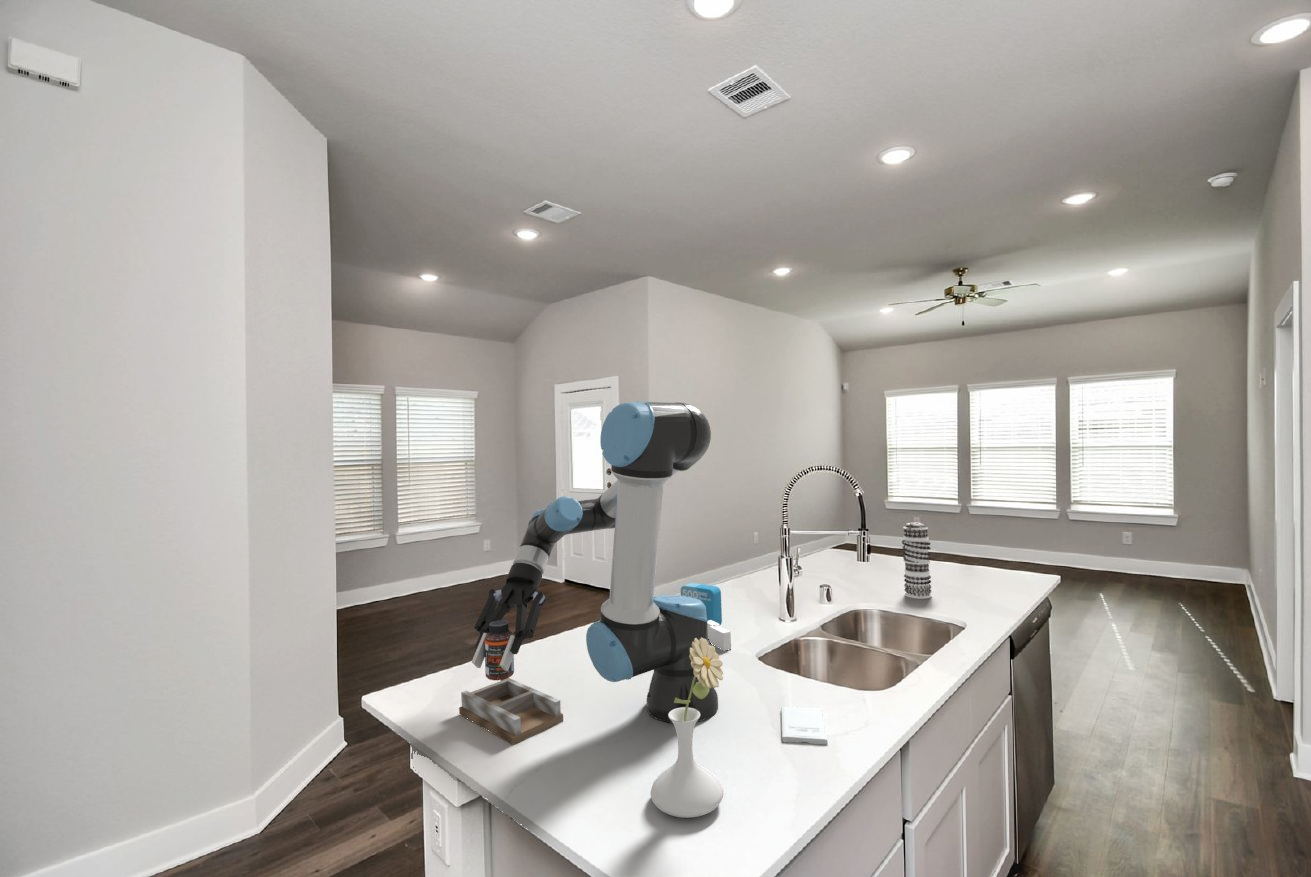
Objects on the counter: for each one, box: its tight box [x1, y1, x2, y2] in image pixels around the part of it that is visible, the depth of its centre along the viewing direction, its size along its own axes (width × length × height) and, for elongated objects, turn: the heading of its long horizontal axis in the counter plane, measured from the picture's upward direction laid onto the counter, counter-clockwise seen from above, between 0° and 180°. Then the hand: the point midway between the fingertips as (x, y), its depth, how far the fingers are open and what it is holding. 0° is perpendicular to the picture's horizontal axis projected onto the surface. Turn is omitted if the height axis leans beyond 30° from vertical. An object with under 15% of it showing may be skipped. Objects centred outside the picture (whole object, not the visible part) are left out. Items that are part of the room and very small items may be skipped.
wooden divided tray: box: [458, 677, 564, 745], centre depth 123 cm, size 20×12×4 cm, turn 47°
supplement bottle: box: [484, 619, 515, 681], centre depth 126 cm, size 6×6×11 cm
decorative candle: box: [901, 521, 932, 600], centre depth 205 cm, size 9×9×25 cm
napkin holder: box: [707, 620, 732, 652], centre depth 164 cm, size 15×11×6 cm
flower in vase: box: [650, 638, 725, 819], centre depth 93 cm, size 13×11×25 cm
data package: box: [680, 582, 723, 626], centre depth 180 cm, size 12×4×12 cm, turn 53°
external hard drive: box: [780, 706, 828, 745], centre depth 115 cm, size 2×8×12 cm
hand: (489, 666), depth 122 cm, fingers closed on supplement bottle, 6 cm apart
